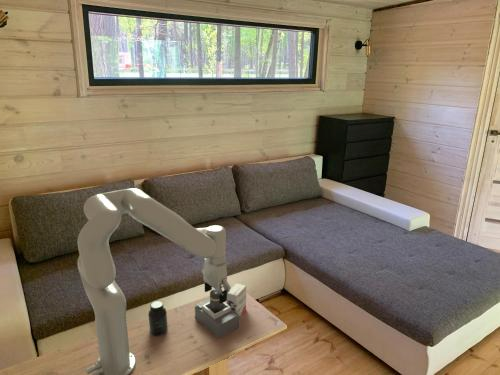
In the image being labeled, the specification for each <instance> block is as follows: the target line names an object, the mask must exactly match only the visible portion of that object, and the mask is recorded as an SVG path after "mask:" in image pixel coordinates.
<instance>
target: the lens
mask: <svg viewBox="0 0 500 375" xmlns="http://www.w3.org/2000/svg"><path fill="white" fill-rule="evenodd" d="M219 295H220V291H219V289H218V290H216V289H214V288H213V289H212V290H210V291H209V298H210V310H211V311H212V312H213V313H217V312H219V311H221V310H223V303H221V304H220V303H219Z"/></svg>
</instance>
